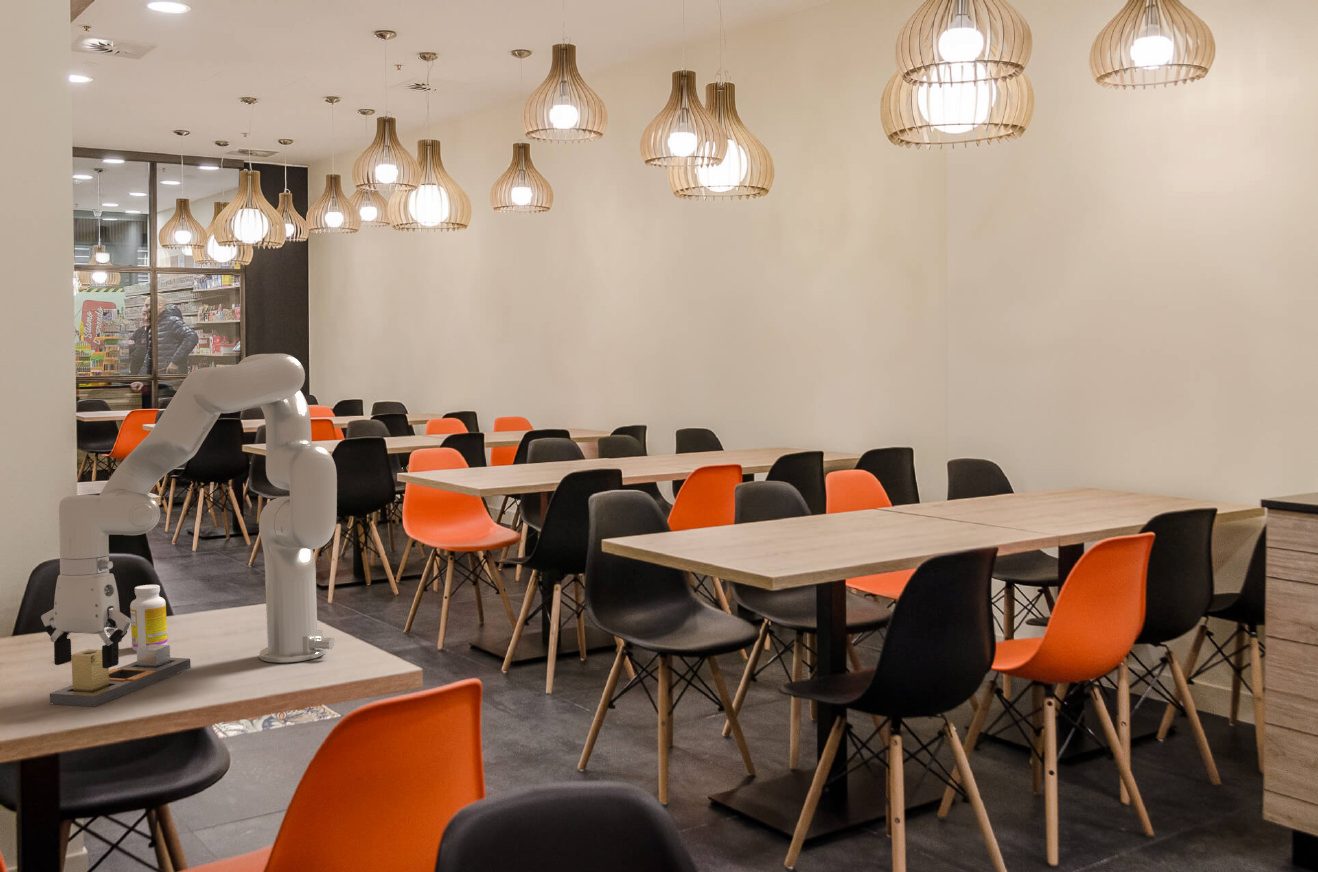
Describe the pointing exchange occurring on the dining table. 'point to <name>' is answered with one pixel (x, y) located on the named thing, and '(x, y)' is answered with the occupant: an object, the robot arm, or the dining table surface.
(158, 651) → the block
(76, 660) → the brass nut
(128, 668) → the rail
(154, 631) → the supplement bottle
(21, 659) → the dining table surface
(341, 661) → the dining table surface
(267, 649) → the robot arm
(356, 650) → the dining table surface
